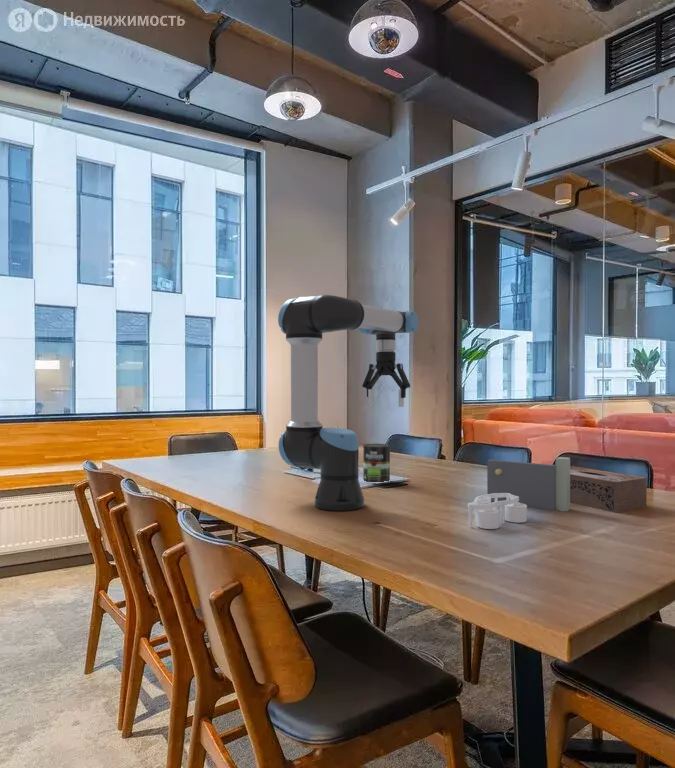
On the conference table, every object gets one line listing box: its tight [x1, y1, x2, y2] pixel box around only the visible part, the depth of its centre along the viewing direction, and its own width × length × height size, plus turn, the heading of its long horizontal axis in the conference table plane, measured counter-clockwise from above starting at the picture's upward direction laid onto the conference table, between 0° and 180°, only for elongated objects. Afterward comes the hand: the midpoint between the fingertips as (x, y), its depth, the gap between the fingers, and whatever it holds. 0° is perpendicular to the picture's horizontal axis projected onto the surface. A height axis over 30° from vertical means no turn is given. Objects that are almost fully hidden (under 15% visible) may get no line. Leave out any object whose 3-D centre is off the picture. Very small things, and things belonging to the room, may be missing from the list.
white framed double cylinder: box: [467, 493, 528, 530], centre depth 153 cm, size 20×11×7 cm, turn 125°
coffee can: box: [362, 443, 391, 482], centre depth 218 cm, size 10×10×14 cm
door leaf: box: [486, 456, 571, 512], centre depth 173 cm, size 9×23×16 cm, turn 54°
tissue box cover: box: [570, 465, 648, 514], centre depth 179 cm, size 26×14×10 cm, turn 30°
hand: (385, 406), depth 224 cm, fingers open, 13 cm apart
